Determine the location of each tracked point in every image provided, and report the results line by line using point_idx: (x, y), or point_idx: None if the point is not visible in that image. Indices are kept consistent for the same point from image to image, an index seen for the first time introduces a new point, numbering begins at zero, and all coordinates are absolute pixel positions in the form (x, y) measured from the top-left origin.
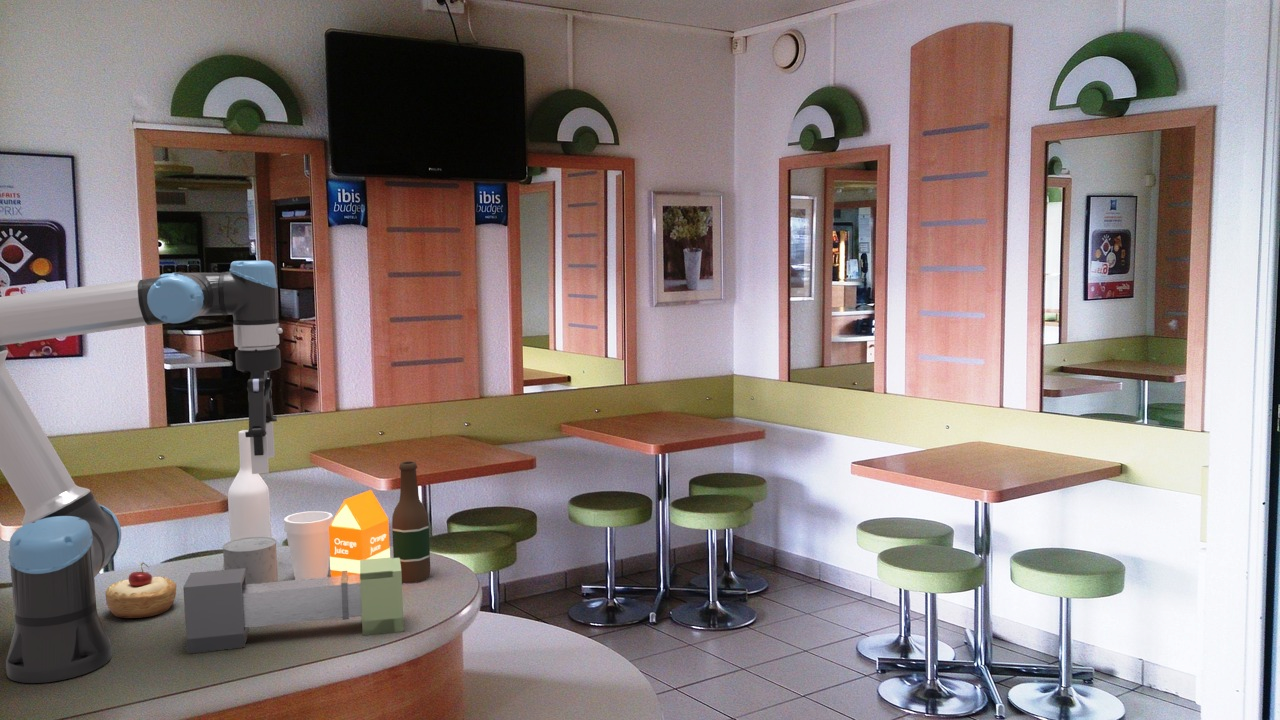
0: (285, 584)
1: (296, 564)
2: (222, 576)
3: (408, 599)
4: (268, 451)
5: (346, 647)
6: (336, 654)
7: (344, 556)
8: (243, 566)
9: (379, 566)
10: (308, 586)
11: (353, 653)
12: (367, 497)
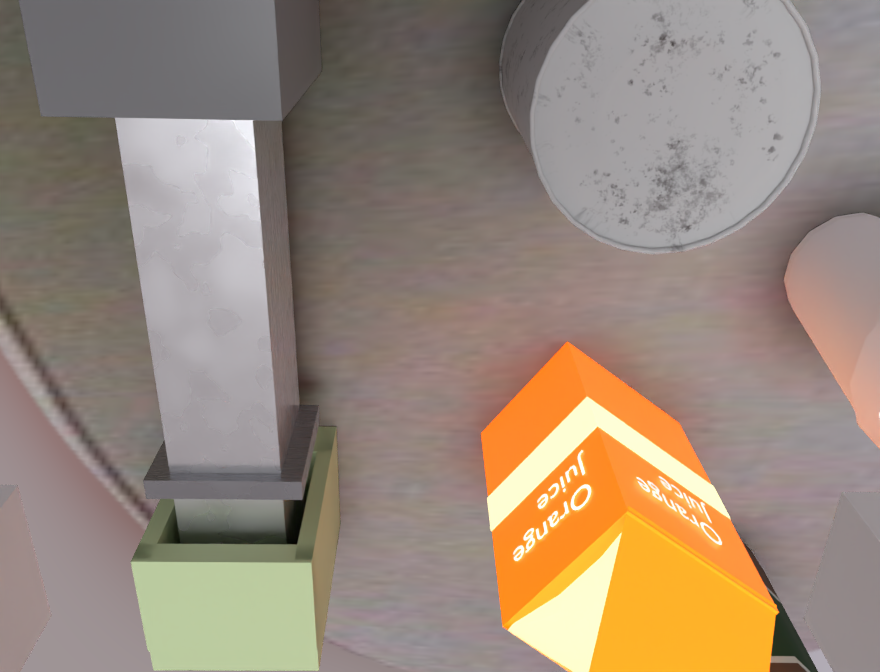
0: (216, 278)
1: (843, 250)
2: (154, 10)
3: (481, 544)
4: (849, 629)
5: (104, 382)
6: (50, 356)
7: (550, 480)
8: (527, 76)
9: (206, 617)
10: (170, 365)
11: (52, 400)
12: None
